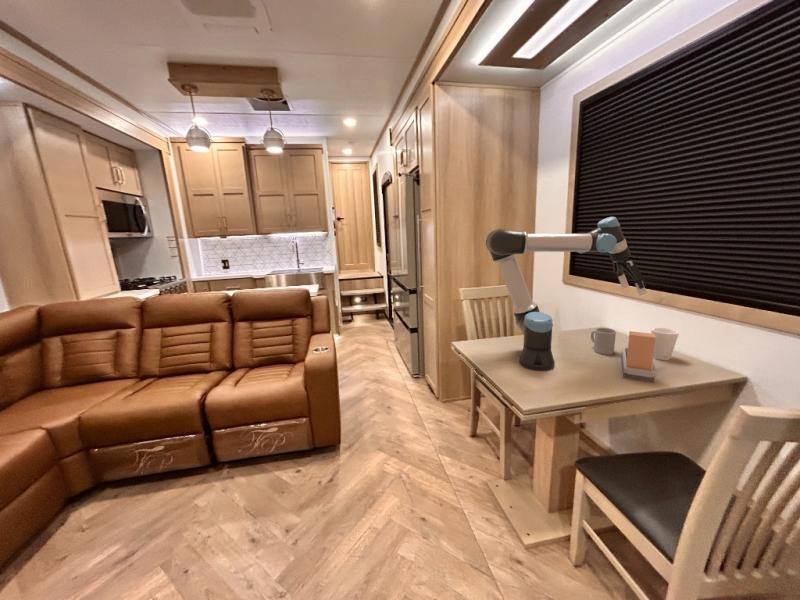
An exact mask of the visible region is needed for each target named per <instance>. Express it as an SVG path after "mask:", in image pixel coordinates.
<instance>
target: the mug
mask: <svg viewBox="0 0 800 600" xmlns="http://www.w3.org/2000/svg"><path fill="white" fill-rule="evenodd" d="M616 333H617V332H616V330H615V329H612V328H608V327H597V328H596V329H593V330H592V331H591V333H590V340H591V342H592V343H593V345H594V346H593V351H594V353H597V354H601V355H614V353H615V347H616V346H615V345H616V336H617V335H616Z"/></svg>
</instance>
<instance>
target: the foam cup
mask: <svg viewBox="0 0 800 600" xmlns="http://www.w3.org/2000/svg"><path fill="white" fill-rule="evenodd" d="M650 333H652V334H654V335H655V337H656V338H655V346H654V354H653V359H656V360H660V361H670V360H671V358H672V355H673V352H674V349H675V346H676V343H677V339H678V338H679V335H680V334H679V331H677V330H676V329H673V328H666V327H652V328H651V332H650Z"/></svg>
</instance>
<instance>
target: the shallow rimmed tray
mask: <svg viewBox="0 0 800 600" xmlns="http://www.w3.org/2000/svg"><path fill="white" fill-rule="evenodd" d="M627 351H628V347H625V348H622V352H621V353H620V359H621V360H620V361H621V371H622V372H621V373H622V378H623V379H628V380H629V379H630V380H634V381H635V380H636V381H641V382H646V383H647V382H648V383H653V384H654V383H655V370H654V367H653V366H652V369H651V370H644V369H637V368H631V367H627V364H626V360H627Z"/></svg>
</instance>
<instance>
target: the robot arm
mask: <svg viewBox="0 0 800 600" xmlns="http://www.w3.org/2000/svg"><path fill="white" fill-rule="evenodd" d="M485 245H486V248H487V250H488V251H489V254H490V256H491V258H492V261H493V262H495V263H496V264H497V265H498V268H499V269H500V273H501V275H502V278H503V280H504V283H505V286H506V288H507V291H508V293H509V296H510V298H511V301H512V304H513V307H514V308H513V310H512V313H513V316H514V317H515V324H516V326H517V327H518V328H519V329H520V330H521V333H522V334H523V347H522V350H521V353H520V355H519V358H518V364H519V365H520V366H521V367H523V368H525V369H527V368H528V370H530V371H531V370H532V371H538V372H541V371H542V372H544V371H551V370H552V369H554V368H555V364H556V363H555V359H554V356H553V351H552V339H553V327H554V323H553V318H552V316H551V315H549V314H548V313H545V312H541V311H540V309H539V306H538V303H536V302H534V301H533V300H532V297H531V294H530V291H529V289H528V286H527V283H526V280H525V279H524V275H523V273H522V270H521V268H520V265H519V263H518V260H517V257H516V256H517V255H524V254H525V253H526V252H529V253H530V252H538V253H539V252H542V253H543V252H545V253H546V252H549V253H550V252H551V253H552V252H554V253H555V252H556V253H557V252H559V253H561V252H563V253H565V252H566V253H568V252H570V253H571V252H574V253H575V252H576V253H579V254H584V253H587V252H588V253H600V254H601V253H605V254H606V253H608V254H609V257H610V259H611V262H612V269H613V274H614V275H616V276H617V278H618V281H619V283H620V286H621V289H627V288H629V286H630V285H629V283H628V280H627V277H626V275H625V272H627V273H628V274H629V275H630V276H629V277H631V278H632V279H633V281H634V283H633V284H634V285H635V287H636V290H637V293H638V295H639V296H643V295H645V294H648V293H647V290H646V288H645V285H644V282H645V280H646V279H645V277H644V276H643V274H642V272H641V271H640V270H639V268H638V266H637V265H636V263H635V261H634V260H630V259H629V257H631V251H630V249H629V247H628V244H627V239H626V238H625V236H624V233H623V231H622V228H621V224H620V222H619V220H618V219H617V217H616V216H609V217H606V218H604V219H601V220H600V221H598V223H597V228H595V229H593V230H591V231H589V232H587V233H527V232H526V231H523V230H522V231H521V230H519V231H517V230H510V229H507V228H497V229H494V230H492V231H491V232H490V233H488V235H487V237H486V240H485ZM624 271H625V272H624Z"/></svg>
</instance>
